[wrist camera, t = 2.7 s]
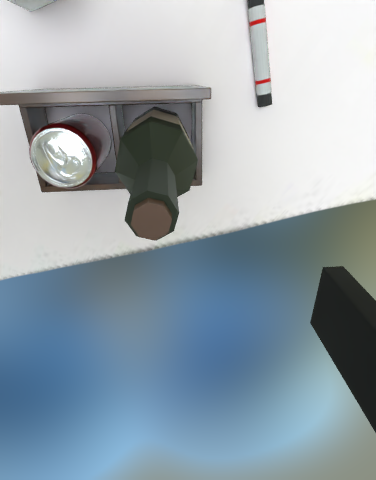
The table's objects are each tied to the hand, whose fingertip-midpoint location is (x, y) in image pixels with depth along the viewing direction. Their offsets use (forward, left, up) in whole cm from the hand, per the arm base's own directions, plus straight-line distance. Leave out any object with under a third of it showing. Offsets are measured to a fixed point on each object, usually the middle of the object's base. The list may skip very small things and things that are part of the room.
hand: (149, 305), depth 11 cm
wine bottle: (0, 0, -38) cm, 38 cm away
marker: (+14, +12, -38) cm, 42 cm away
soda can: (-11, 0, -38) cm, 39 cm away
